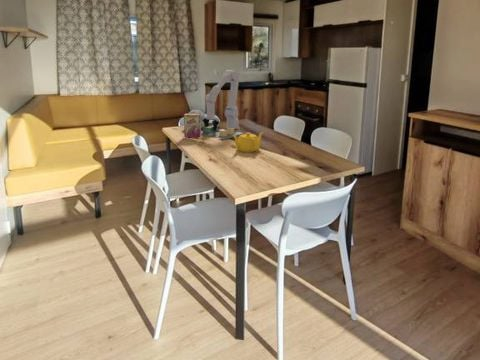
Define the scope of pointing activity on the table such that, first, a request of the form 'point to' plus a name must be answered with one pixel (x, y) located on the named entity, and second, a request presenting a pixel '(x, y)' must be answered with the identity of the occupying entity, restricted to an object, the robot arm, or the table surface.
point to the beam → (210, 129)
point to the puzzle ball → (198, 113)
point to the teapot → (248, 142)
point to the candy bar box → (192, 125)
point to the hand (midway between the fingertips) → (211, 129)
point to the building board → (216, 135)
